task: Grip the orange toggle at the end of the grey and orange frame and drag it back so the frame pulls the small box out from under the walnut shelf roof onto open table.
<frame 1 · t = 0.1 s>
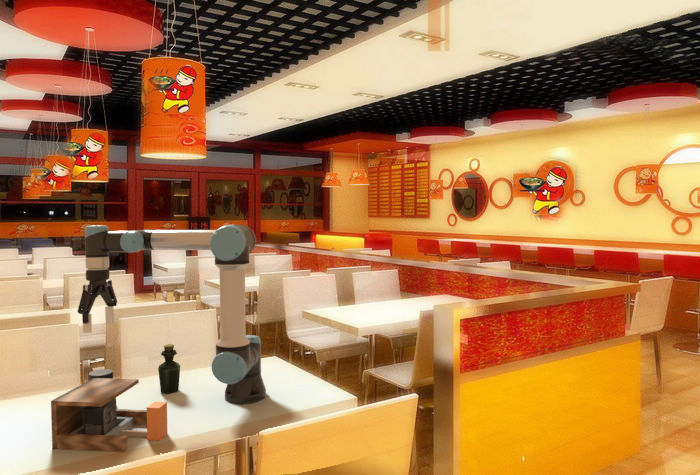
hand: (98, 328, 181), 28 cm above the table, tool pointing down, fingers open, 13 cm apart
jar: (101, 405, 182), on the table
grey and orange frame: (100, 434, 158), on the table
potion bottle: (169, 391, 197), on the table
small box: (100, 435, 158), resting in grey and orange frame
shelf lane: (113, 435, 157), on the table
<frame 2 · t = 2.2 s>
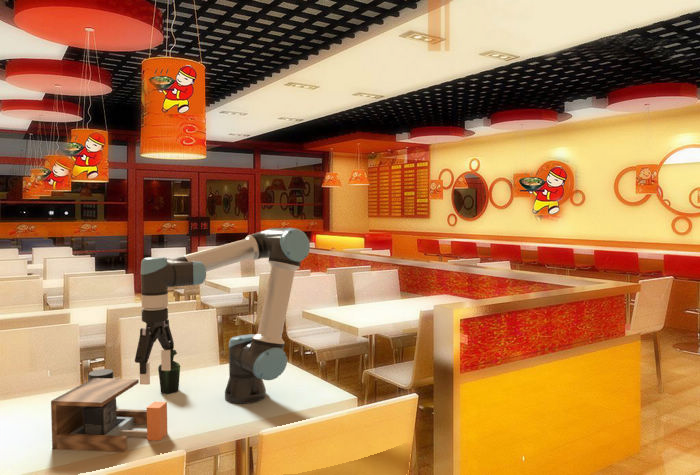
hand: (155, 376, 155), 19 cm above the table, tool pointing down, fingers open, 13 cm apart
nothing on the table moved.
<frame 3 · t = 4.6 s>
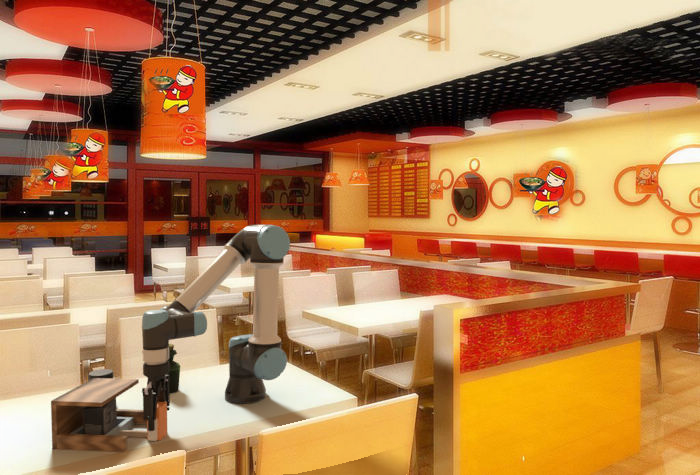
hand: (157, 435, 156), 0 cm above the table, tool pointing down, fingers closed on grey and orange frame, 5 cm apart
grey and orange frame: (100, 434, 158), on the table, touching gripper
everything else where it was.
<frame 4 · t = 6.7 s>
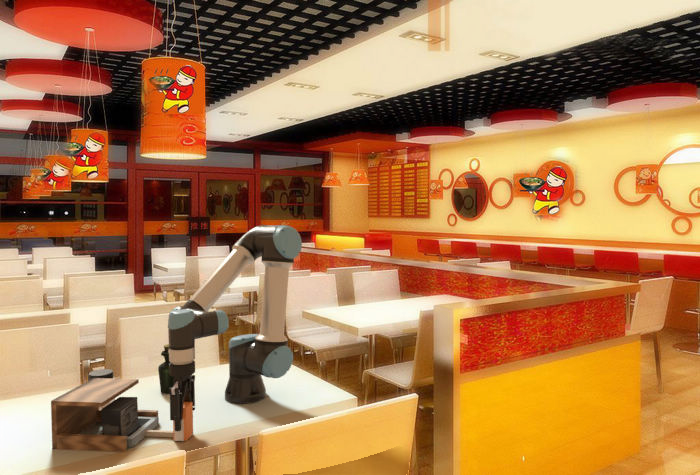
hand: (183, 436, 156), 0 cm above the table, tool pointing down, fingers closed on grey and orange frame, 5 cm apart
grey and orange frame: (126, 434, 157), on the table, touching gripper
small box: (120, 436, 157), resting in grey and orange frame
everything else where it was.
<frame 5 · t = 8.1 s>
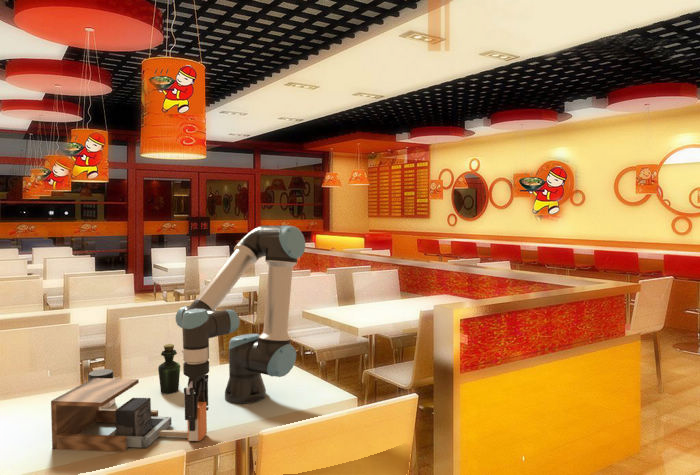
hand: (197, 435, 155), 1 cm above the table, tool pointing down, fingers closed on grey and orange frame, 5 cm apart
grey and orange frame: (139, 434, 157), on the table, touching gripper, small box
small box: (134, 437, 156), resting in grey and orange frame
everything else where it was.
when the fingers open (1 cm above the table, at t = 9.0 s): grey and orange frame stays where it is, on the table.
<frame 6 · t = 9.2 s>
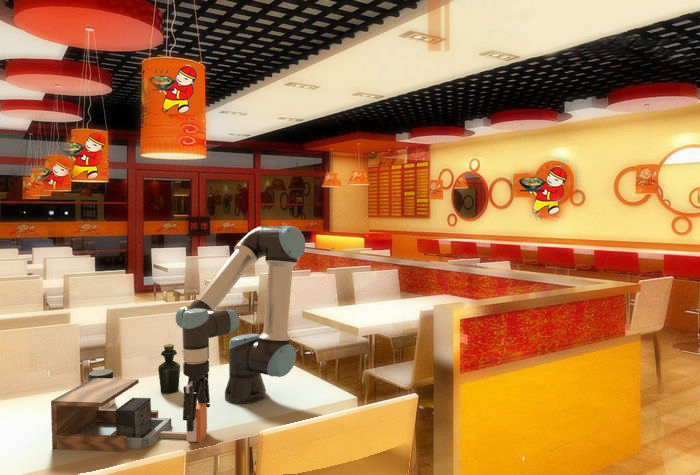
hand: (197, 434, 155), 1 cm above the table, tool pointing down, fingers open, 8 cm apart
grey and orange frame: (139, 436, 157), on the table
small box: (134, 437, 156), resting in grey and orange frame
everything else where it was.
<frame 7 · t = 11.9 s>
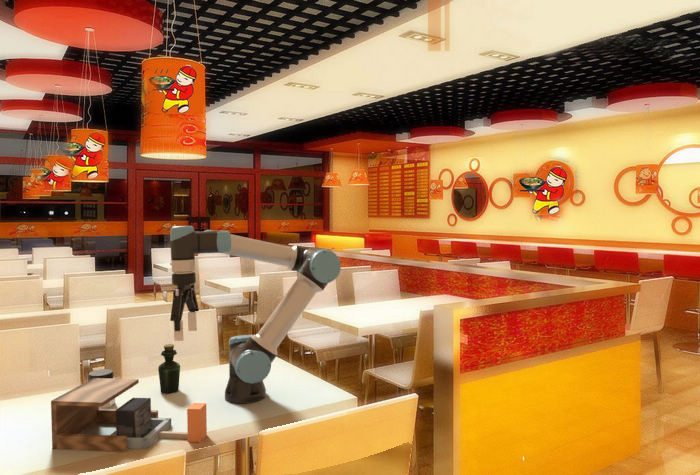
hand: (186, 335, 170), 28 cm above the table, tool pointing down, fingers open, 13 cm apart
nothing on the table moved.
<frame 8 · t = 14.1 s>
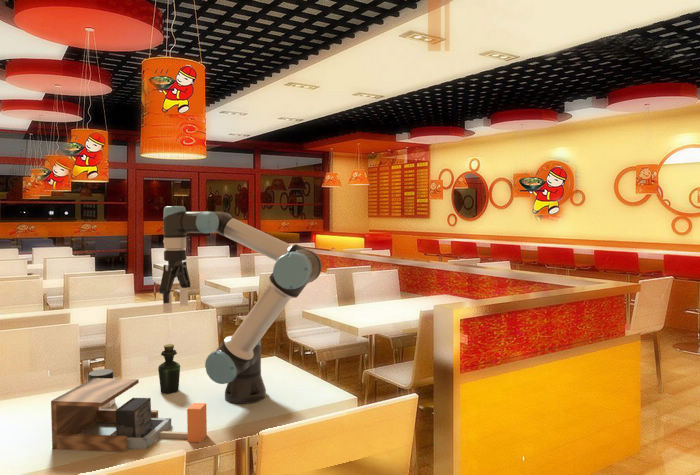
hand: (176, 308, 182), 35 cm above the table, tool pointing down, fingers open, 13 cm apart
nothing on the table moved.
at the end: small box moved 11.1 cm from its start; small box inside the target area (3.2 cm from its centre), resting in grey and orange frame; small box tilted 0° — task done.
